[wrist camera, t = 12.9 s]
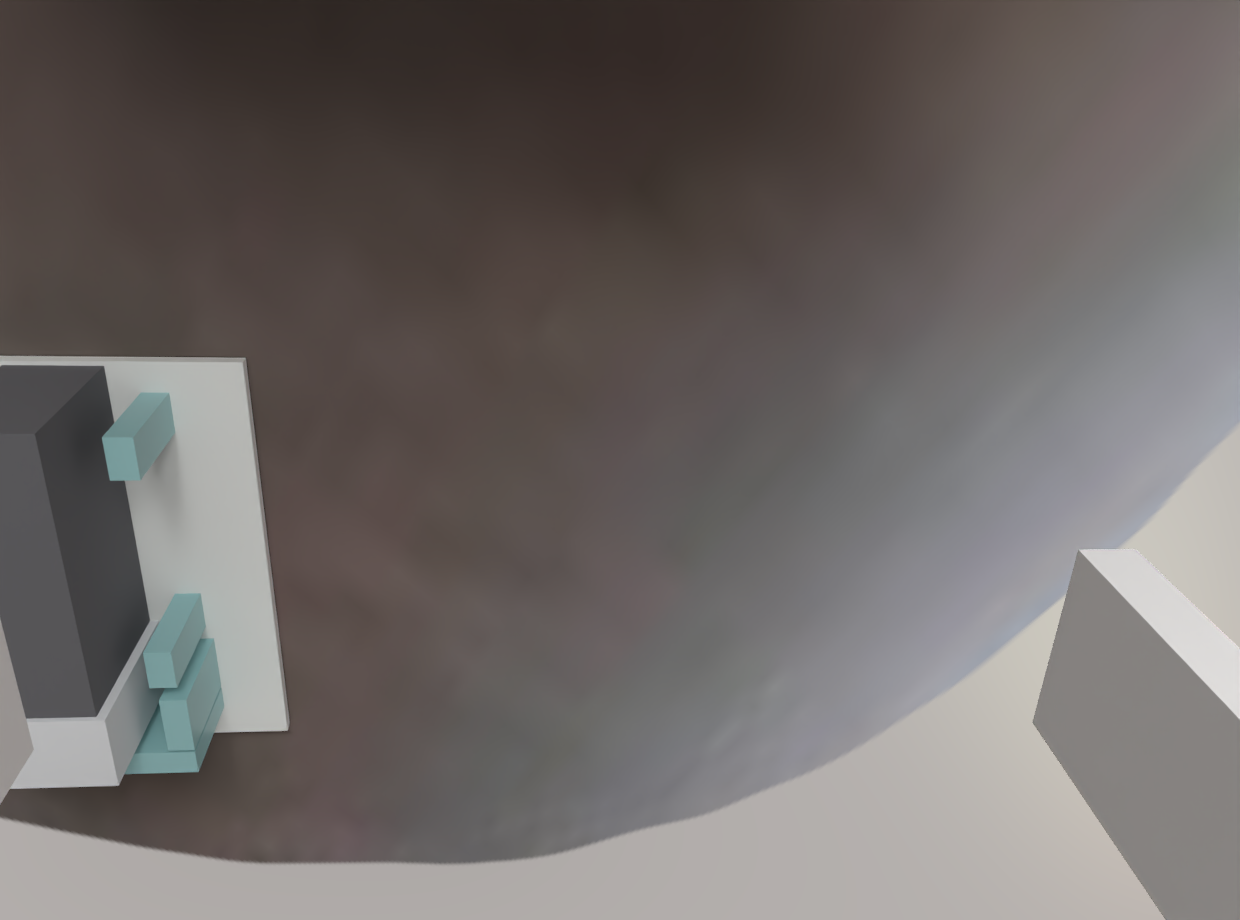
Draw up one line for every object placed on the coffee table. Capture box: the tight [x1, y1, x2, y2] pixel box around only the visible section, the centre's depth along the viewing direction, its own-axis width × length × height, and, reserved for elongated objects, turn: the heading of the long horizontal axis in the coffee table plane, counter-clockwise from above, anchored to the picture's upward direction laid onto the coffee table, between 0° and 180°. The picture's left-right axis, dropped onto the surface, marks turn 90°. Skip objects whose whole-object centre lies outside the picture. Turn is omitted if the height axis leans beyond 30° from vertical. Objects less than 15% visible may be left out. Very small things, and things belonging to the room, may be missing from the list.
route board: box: [0, 356, 290, 774], centre depth 39 cm, size 17×13×4 cm
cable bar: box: [0, 365, 165, 789], centre depth 38 cm, size 14×4×6 cm, turn 178°
